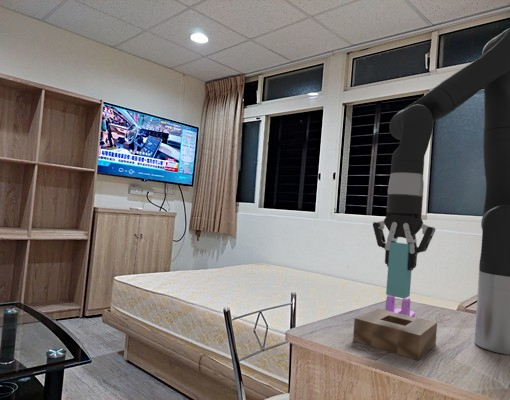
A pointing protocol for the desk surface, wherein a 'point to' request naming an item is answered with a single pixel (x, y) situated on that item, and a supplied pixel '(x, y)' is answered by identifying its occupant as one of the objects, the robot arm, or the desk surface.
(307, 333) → the desk surface
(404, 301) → the bracket
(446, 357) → the desk surface
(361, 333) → the socket block
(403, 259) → the peg
